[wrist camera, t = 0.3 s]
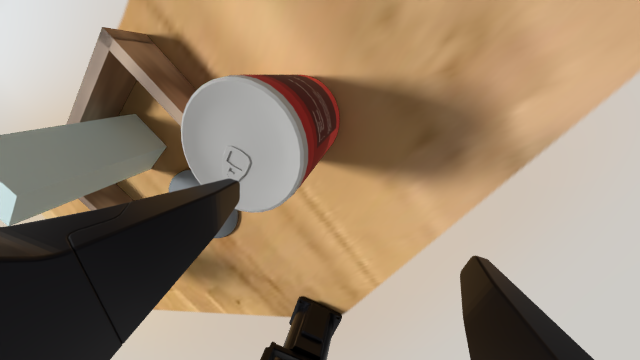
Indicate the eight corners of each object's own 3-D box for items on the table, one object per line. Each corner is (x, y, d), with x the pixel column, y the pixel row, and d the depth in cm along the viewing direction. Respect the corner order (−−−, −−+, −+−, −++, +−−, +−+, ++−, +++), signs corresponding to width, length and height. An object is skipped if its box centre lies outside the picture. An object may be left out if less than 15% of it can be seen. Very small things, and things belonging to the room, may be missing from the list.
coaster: (234, 246, 32) (232, 248, 32) (172, 219, 33) (169, 221, 33) (242, 187, 28) (240, 188, 27) (170, 157, 29) (167, 159, 28)
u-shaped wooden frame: (225, 123, 25) (199, 131, 21) (144, 218, 35) (117, 234, 31) (145, 34, 23) (102, 27, 20) (84, 161, 33) (48, 171, 30)
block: (167, 146, 28) (17, 195, 17) (150, 169, 30) (8, 226, 19) (135, 113, 27) (-45, 142, 16) (120, 139, 30) (-46, 180, 18)
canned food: (261, 145, 25) (181, 191, 15) (271, 64, 21) (174, 56, 12) (329, 167, 24) (289, 231, 14) (351, 86, 20) (320, 98, 11)
